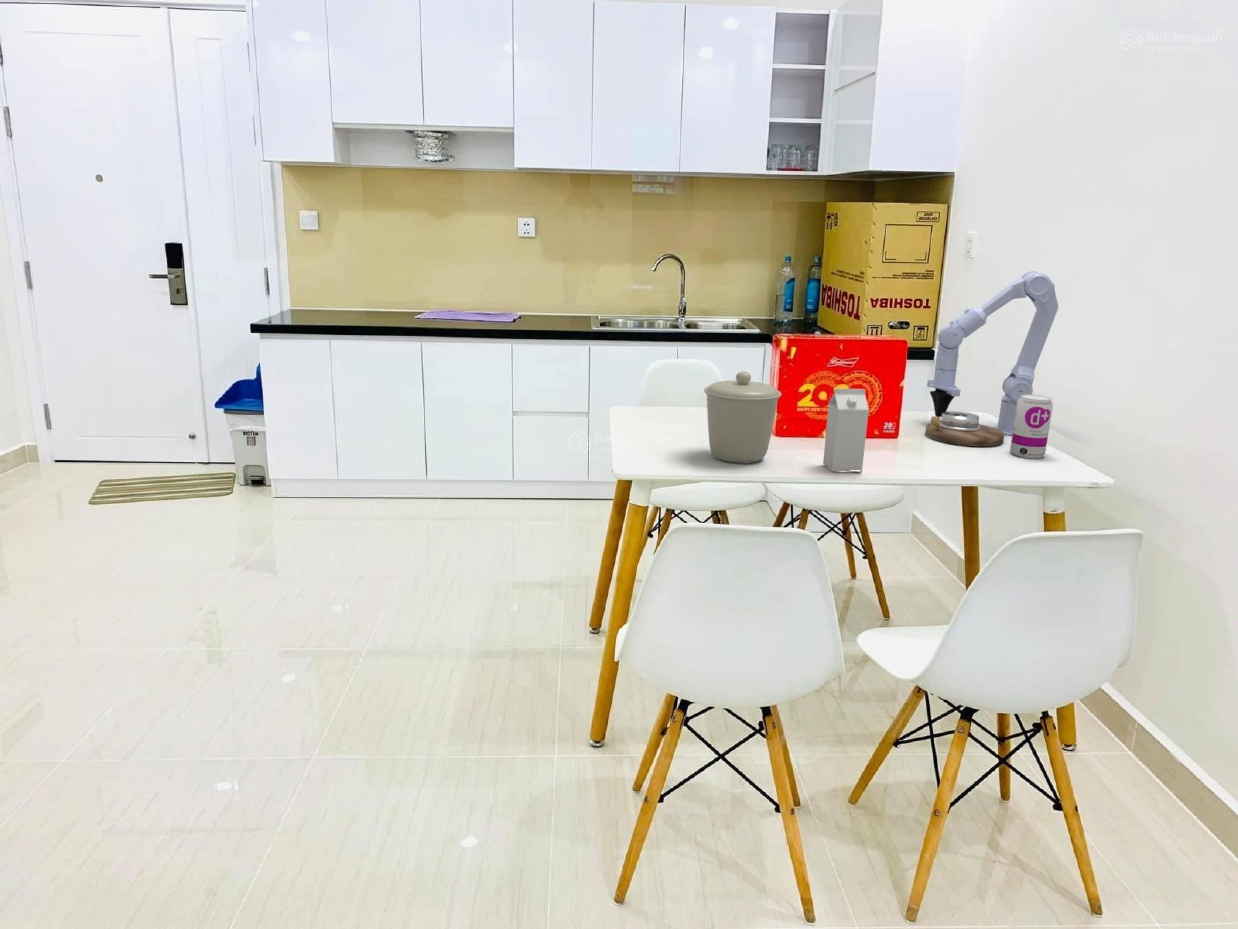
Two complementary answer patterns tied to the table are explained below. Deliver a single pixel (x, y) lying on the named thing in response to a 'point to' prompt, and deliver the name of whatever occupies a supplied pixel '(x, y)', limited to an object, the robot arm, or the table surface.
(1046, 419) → the supplement can
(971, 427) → the cover
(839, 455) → the milk carton
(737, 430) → the canister
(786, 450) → the table surface
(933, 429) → the turntable
